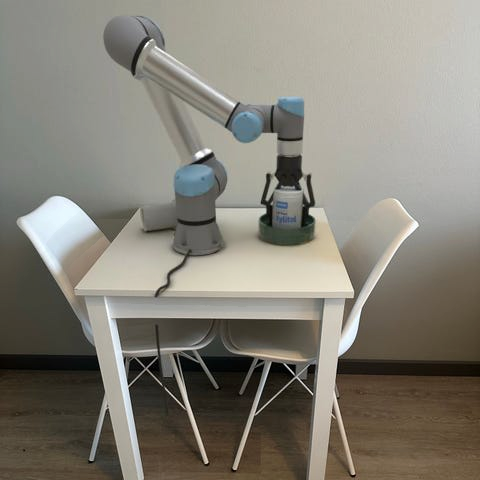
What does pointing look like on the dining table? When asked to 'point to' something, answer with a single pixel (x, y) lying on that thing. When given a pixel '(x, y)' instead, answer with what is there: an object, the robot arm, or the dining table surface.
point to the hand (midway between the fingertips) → (286, 226)
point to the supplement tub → (287, 208)
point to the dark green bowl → (286, 232)
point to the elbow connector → (159, 216)
